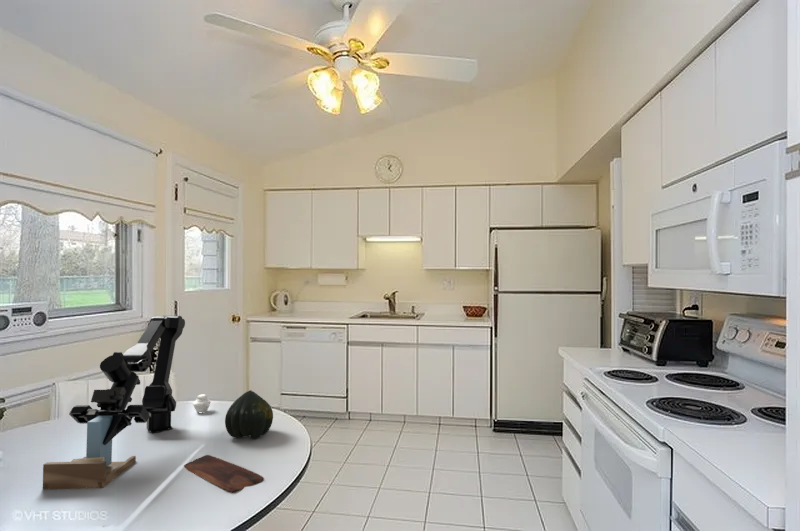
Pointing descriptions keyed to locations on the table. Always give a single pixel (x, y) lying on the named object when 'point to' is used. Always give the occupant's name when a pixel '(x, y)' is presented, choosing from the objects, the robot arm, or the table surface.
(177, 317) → the robot arm
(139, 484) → the table surface
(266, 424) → the squash
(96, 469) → the tray
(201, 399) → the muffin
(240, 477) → the wooden tablet
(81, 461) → the offcut upper
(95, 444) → the light blue block
